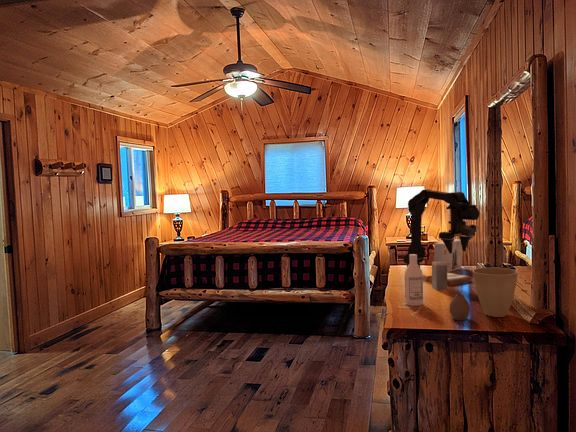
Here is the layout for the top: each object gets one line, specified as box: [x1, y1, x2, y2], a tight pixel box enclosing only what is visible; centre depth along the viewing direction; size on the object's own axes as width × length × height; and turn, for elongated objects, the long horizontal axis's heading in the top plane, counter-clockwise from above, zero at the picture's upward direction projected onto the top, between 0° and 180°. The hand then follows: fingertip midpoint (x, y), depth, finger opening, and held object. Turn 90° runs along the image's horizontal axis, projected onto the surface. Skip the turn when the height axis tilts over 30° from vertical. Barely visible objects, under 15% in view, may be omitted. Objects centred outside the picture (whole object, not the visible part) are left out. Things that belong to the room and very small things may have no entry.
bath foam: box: [404, 254, 424, 307], centre depth 189 cm, size 7×7×20 cm
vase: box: [448, 293, 471, 321], centre depth 168 cm, size 7×7×9 cm
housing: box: [431, 260, 448, 291], centre depth 214 cm, size 5×5×12 cm
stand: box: [426, 272, 472, 287], centre depth 228 cm, size 14×14×3 cm
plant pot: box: [472, 267, 519, 318], centre depth 171 cm, size 15×15×16 cm
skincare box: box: [433, 238, 463, 273], centre depth 253 cm, size 21×6×16 cm, turn 132°
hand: (457, 252), depth 222 cm, fingers open, 9 cm apart
